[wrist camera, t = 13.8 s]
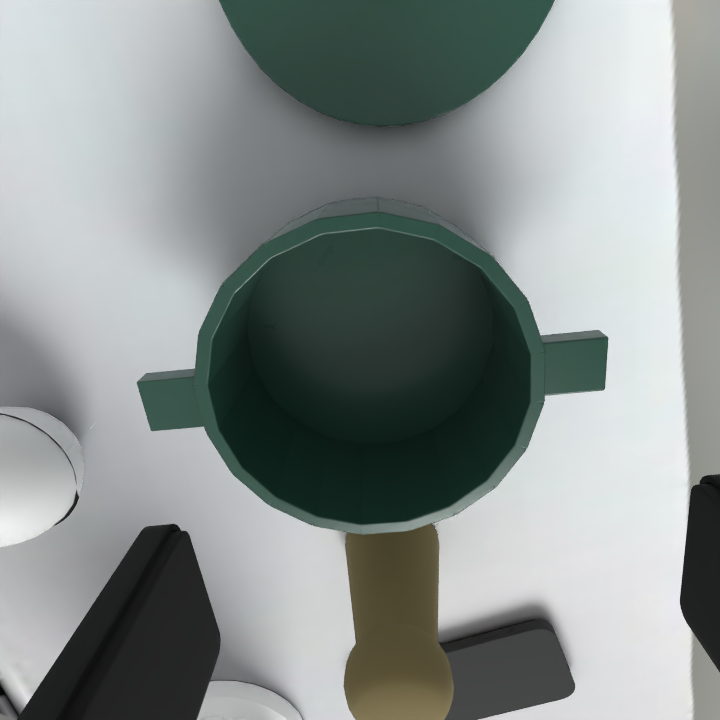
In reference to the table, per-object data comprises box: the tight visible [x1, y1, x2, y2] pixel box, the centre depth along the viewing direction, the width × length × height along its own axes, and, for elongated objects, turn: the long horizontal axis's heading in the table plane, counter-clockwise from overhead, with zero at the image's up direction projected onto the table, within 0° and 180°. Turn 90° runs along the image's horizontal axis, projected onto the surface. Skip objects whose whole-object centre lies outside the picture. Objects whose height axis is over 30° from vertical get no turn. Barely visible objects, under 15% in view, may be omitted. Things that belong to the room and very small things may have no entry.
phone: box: [441, 620, 575, 720], centre depth 37 cm, size 7×1×15 cm
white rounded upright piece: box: [0, 407, 92, 547], centre depth 27 cm, size 10×7×7 cm
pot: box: [137, 197, 608, 535], centre depth 24 cm, size 14×20×8 cm
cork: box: [344, 524, 454, 720], centre depth 28 cm, size 6×6×11 cm
